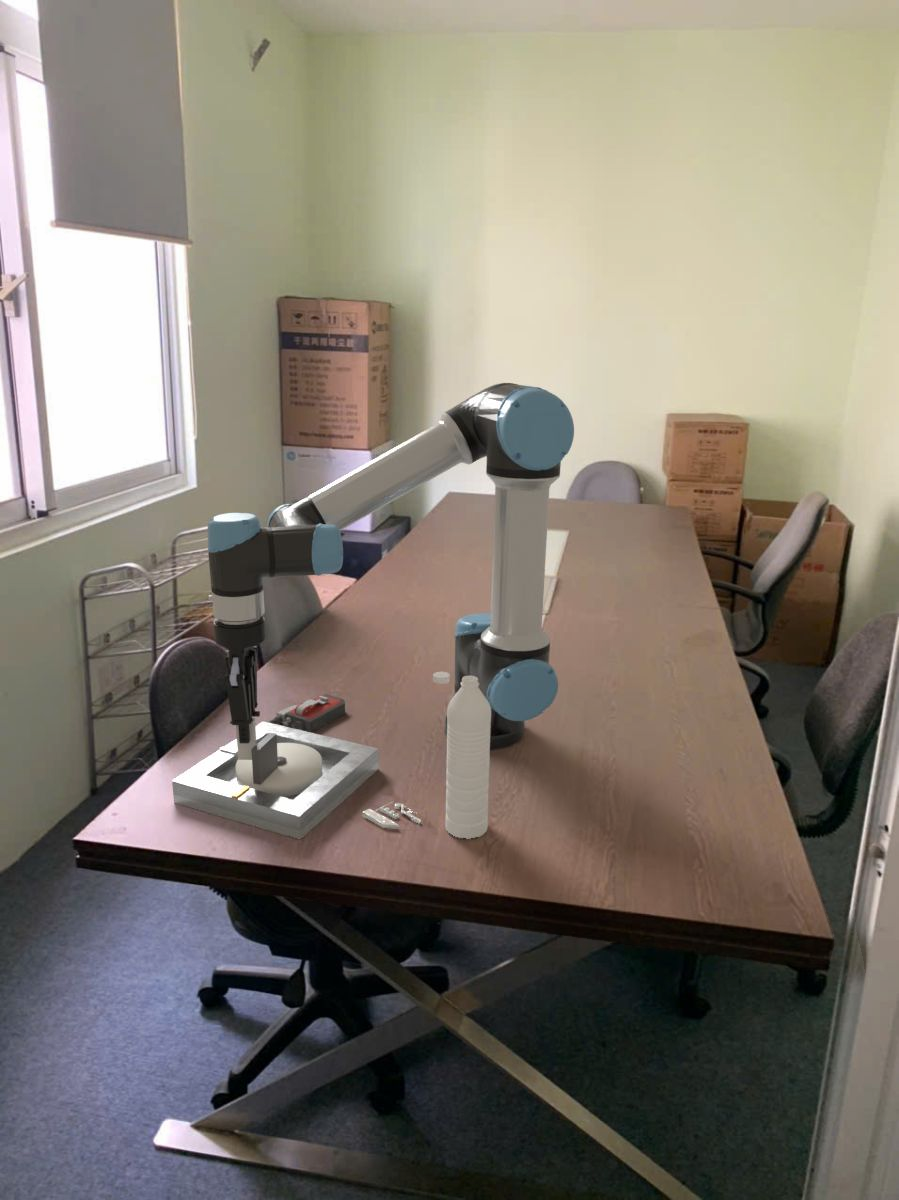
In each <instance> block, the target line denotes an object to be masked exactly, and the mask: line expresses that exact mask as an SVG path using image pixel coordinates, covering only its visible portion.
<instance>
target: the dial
mask: <svg viewBox="0 0 899 1200" xmlns="http://www.w3.org/2000/svg"><path fill="white" fill-rule="evenodd" d="M251 752H252V760H237V763H236V779H237V784H238V785H240V786H248V787H249V788H251V789H255V790H259V791H262V792H266V793H270V794H273V795H277V796H281V797H287V796H292V795H296V794H299V793H302V792H303V791H304V790H306V789H307V788H308V787H309V786H310V785H312V784H313V783H314V782H315V781H317V780H318V779H319V778H320V777H321V776H322V757H321V755H320V753H319V752H318V751H316V750H315V749H313V748H311V747H309V746H306V745H302V744H297V743H277V734H275V733H269V734H268V735H267V736H266V737H264V738H263V739H262V740H261V741H260V742H259V743H258V744H257V745H255V746H254V747H253V748H252V749H251Z"/></svg>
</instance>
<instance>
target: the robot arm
mask: <svg viewBox="0 0 899 1200" xmlns="http://www.w3.org/2000/svg"><path fill="white" fill-rule="evenodd" d="M574 437H575V425H574V419H573V416H572V413H571V412H570V409H569V408H568V405H566V404H565V403H564V401H563V399H561V398H560V397H558V396H557V395H555V394H554V393H552V392H550V391H549V390H546V389H543V388H541V387H537V386H530V385H524V384H523V385H522V384H517V383H513V382H501V383H496V384H492V385H491V386H488V387H487V388H483V389H482V390H480V391H479V392H476V393H475V394H473V395H472V396H470V397H468V398H466V399H465V400H463V401H461V402H460V403H458V404H456V405H455V406H453V407H452V408H450V409H448V410H446V411H444V412H443V413H441V415H440V418H439V422H438V423H436V424H434V425H432V426H430V427H429V428H427V429H425V430H423V431H422V432H419V433H418V434H416V435H415V436H413V437H411V438H409V439H407V440H406V441H404V442H402V443H400V444H398V445H397V446H395V447H393V448H391V449H390V450H388V451H387V452H384V453H383V454H381V455H379V456H377V457H376V458H374V459H372V460H370V461H368V462H367V463H365V464H363V465H361V466H359V467H358V468H355V469H354V470H352V471H351V472H349V473H348V474H345V475H343V476H342V477H340V478H338V479H336V480H335V481H333V482H331V483H329V484H328V485H326V486H324V487H323V488H321V489H319V490H317V491H315V492H314V493H312V494H309V496H307V497H305V498H303V499H300V500H299V501H297V502H295V503H284V504H282V505H279V506H278V507H276V508H275V509H274V510H272V512H271V513H270V515H269V517H268V520H267V527H265V526H262V524H261V523H260V518H259V517H258V516H257V515H255V514H254V513H250V512H249V513H248V512H243V513H242V512H227V513H221V514H218V515H215V516H213V517H212V518H211V519H210V520H209V521H208V524H207V553H208V564H209V565H208V566H209V576H210V578H209V579H210V586H211V587H210V588H211V589H210V590H211V595H208V598H207V599H208V601H209V602H211V603H212V614H213V617H214V620H213V634H214V642H215V644H216V645H218V646H220V647H222V648H224V649H227V650H228V655H226V656H225V667H226V668H227V673H225V674H224V677H223V679H224V682H225V686H226V691H227V698H228V704H229V713H230V720H229V723H230V724H231V725H232V726H235V732H236V733H235V735H236V739H237V751H238V760H252V752H251V749H252V748H253V747H254V746H255V745H256V727H255V726H256V718H255V717H257V718H258V717H259V718H260V716H261V711H259V710H258V711H257V710H256V709H257V707H258V705H259V704H258V652H259V648H258V646H259V645H260V644H262V643H264V642H265V640H266V619H265V617H264V616H263V615H264V614H265V611H266V610H265V597H264V594H265V593H264V584H263V582H264V581H263V579H267V578H269V579H270V578H282V577H283V578H285V577H300V576H303V577H304V576H318V577H319V576H320V577H321V576H322V575H328V574H334V573H335V574H336V573H338V572H339V571H340V570H341V569H342V567H343V564H344V563H343V562H344V547H343V538H342V534H341V531H343V530H344V529H346V528H348V527H349V526H352V525H353V524H355V523H357V522H359V521H360V520H362V519H365V518H366V517H367V516H369V515H372V514H373V513H374V512H377V511H378V510H380V509H381V508H383V507H385V506H387V505H388V504H390V503H392V502H394V501H395V500H398V499H399V498H401V497H403V496H404V495H406V494H409V493H410V492H412V491H413V490H415V489H416V488H418V487H420V486H422V485H424V484H425V483H428V482H429V481H431V480H433V479H434V478H436V477H438V476H440V475H442V474H444V473H445V472H447V471H448V470H450V469H452V468H453V467H456V466H458V465H459V464H461V463H462V464H466V465H472V464H473V463H475V462H477V461H478V460H480V459H483V458H485V457H486V468H485V469H486V470H485V471H486V472H485V473H486V476H487V478H489V479H490V480H491V481H492V482H493V484H494V485H495V486H494V487H495V488H494V491H495V492H494V514H493V515H494V517H493V520H494V521H493V539H492V540H493V544H492V547H493V548H492V569H491V570H492V572H491V574H492V575H491V576H492V577H491V594H490V595H491V597H490V598H491V599H490V612H483V613H473V614H467V615H464V616H463V617H460V618H459V619H457V621H456V625H455V632H454V637H455V639H454V694H453V697H454V696H455V694H456V693H457V692H458V690H459V689H460V688H461V684H460V683H461V682H462V678H463V677H464V676H475V677H477V678H478V683H479V686H478V687H479V689H480V690H481V692H482V693H483V695H484V696H485V697H486V699H487V700H488V702H489V704H490V707H491V723H490V725H491V728H490V750H499V749H504V748H509V747H511V746H513V745H515V744H518V742H520V741H522V739H523V738H524V735H525V724H526V723H525V721H528V720H533V719H534V718H536V717H539V716H540V715H541V714H543V713H544V711H546V710H547V709H549V708H550V707H551V705H552V704H553V703H554V701H555V699H556V697H557V695H558V690H559V678H558V676H557V673H556V670H555V669H554V667H553V666H552V665H551V664H550V650H551V637H550V635H549V634H548V633H547V632H546V631H545V630H544V629H543V614H544V613H543V611H544V609H543V608H544V593H545V576H546V575H545V572H546V558H547V557H546V556H547V539H548V519H549V516H548V515H549V504H550V503H549V499H550V489H551V488H550V487H551V485H552V484H554V483H555V482H556V481H557V480H558V479H559V478H560V477H561V465H562V463H561V462H563V459H564V458H565V457H566V455H568V453H569V452H570V450H571V449H572V445H573V442H574ZM453 697H452V698H453ZM253 717H254V718H253ZM444 734H445V736H446V737H447V714H445V719H444Z"/></svg>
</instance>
